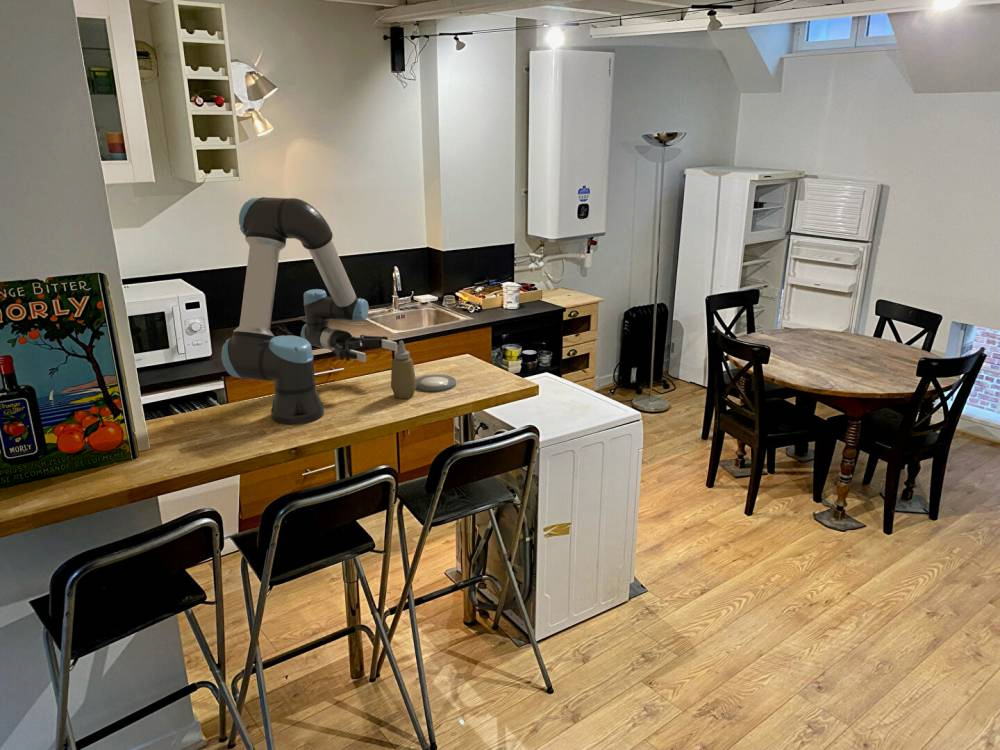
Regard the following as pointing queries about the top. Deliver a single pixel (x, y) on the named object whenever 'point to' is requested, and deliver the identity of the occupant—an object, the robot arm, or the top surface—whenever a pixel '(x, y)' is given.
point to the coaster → (435, 383)
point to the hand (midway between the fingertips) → (381, 352)
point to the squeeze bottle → (402, 373)
